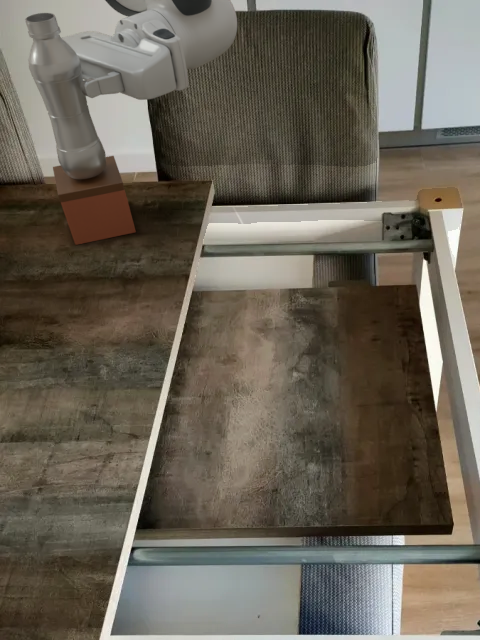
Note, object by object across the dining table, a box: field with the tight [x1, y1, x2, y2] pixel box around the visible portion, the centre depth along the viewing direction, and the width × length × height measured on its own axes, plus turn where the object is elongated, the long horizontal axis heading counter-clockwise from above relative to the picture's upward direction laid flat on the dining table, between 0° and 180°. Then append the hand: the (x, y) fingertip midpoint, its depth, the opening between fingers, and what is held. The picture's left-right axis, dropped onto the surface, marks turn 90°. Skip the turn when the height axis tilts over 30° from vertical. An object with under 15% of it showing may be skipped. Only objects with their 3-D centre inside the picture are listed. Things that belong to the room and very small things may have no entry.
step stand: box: [52, 155, 137, 246], centre depth 98 cm, size 9×9×8 cm
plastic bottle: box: [24, 12, 107, 179], centre depth 88 cm, size 6×7×20 cm
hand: (62, 82), depth 86 cm, fingers open, 8 cm apart
